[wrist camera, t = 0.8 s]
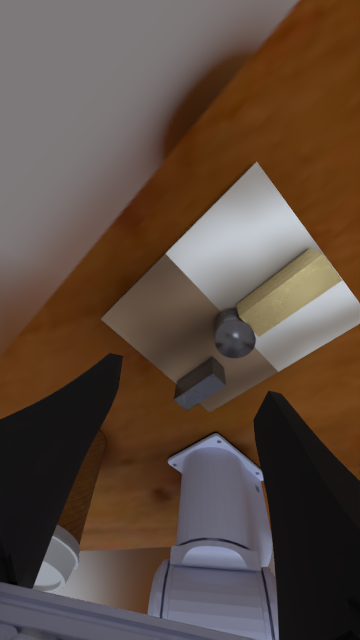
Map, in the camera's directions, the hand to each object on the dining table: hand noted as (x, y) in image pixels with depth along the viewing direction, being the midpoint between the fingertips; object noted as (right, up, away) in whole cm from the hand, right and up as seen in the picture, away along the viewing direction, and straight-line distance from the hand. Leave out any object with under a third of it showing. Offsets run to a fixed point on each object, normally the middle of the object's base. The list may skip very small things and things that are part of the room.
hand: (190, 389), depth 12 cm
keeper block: (+1, -2, +11) cm, 11 cm away
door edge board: (+4, +4, +9) cm, 10 cm away
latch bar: (+6, +5, +6) cm, 10 cm away
